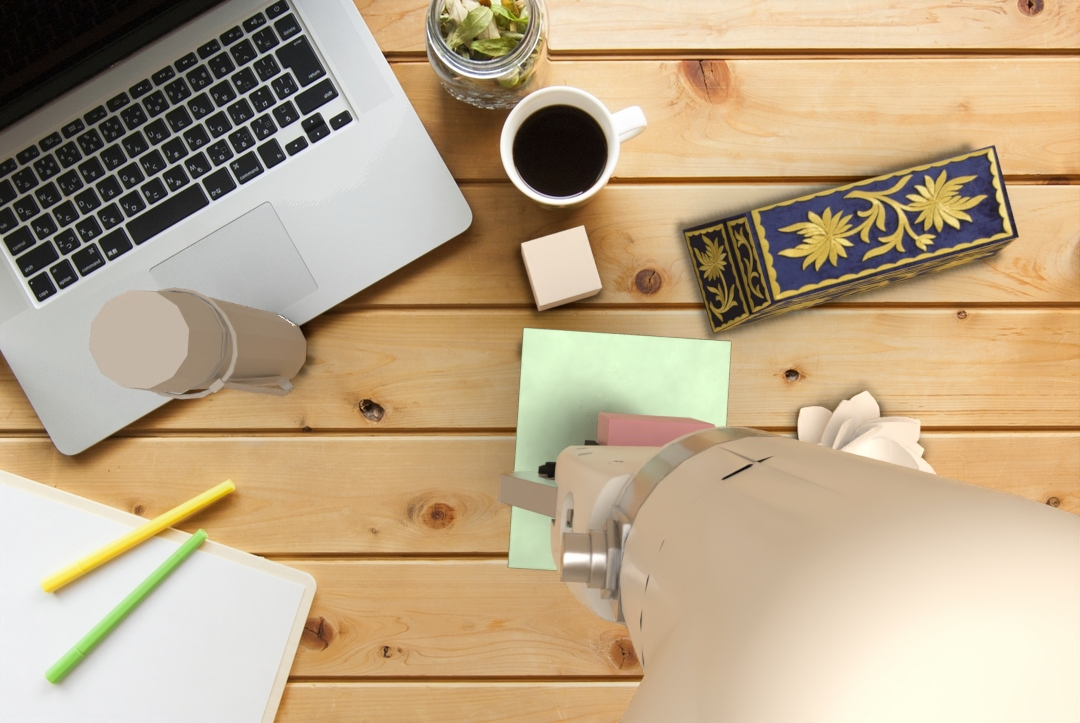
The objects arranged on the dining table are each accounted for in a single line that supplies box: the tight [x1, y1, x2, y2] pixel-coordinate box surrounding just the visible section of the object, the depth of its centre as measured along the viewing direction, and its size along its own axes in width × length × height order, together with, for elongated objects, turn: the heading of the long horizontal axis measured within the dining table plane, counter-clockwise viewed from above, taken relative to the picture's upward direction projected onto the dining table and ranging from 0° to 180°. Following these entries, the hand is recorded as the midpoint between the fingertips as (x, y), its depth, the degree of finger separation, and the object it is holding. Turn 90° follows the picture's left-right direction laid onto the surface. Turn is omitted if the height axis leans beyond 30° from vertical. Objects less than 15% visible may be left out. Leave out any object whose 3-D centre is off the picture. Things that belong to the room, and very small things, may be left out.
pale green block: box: [507, 326, 733, 572], centre depth 61 cm, size 16×14×24 cm
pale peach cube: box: [520, 224, 603, 312], centre depth 70 cm, size 6×6×6 cm
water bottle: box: [88, 286, 308, 400], centre depth 60 cm, size 9×8×25 cm
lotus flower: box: [797, 390, 938, 475], centre depth 69 cm, size 14×15×9 cm
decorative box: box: [682, 144, 1020, 334], centre depth 69 cm, size 11×30×9 cm, turn 105°
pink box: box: [597, 412, 715, 447], centre depth 36 cm, size 6×5×5 cm
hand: (642, 473), depth 39 cm, fingers closed on pink box, 5 cm apart
